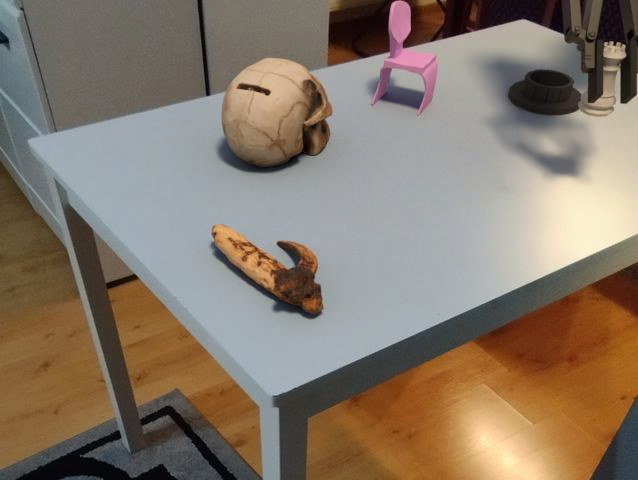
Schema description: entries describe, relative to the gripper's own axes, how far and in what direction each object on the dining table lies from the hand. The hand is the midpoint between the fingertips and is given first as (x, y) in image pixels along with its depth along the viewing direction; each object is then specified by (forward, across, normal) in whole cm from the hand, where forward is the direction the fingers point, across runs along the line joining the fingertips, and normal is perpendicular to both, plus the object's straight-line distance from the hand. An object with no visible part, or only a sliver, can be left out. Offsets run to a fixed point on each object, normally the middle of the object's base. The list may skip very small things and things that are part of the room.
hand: (611, 98), depth 82 cm
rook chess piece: (0, 0, -5) cm, 5 cm away
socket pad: (-13, -3, -32) cm, 35 cm away
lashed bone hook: (+22, +40, +3) cm, 46 cm away
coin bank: (0, +40, -19) cm, 45 cm away
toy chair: (-11, +21, -30) cm, 38 cm away
